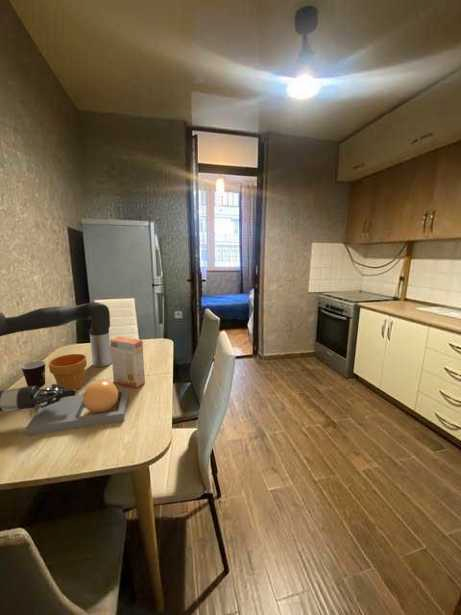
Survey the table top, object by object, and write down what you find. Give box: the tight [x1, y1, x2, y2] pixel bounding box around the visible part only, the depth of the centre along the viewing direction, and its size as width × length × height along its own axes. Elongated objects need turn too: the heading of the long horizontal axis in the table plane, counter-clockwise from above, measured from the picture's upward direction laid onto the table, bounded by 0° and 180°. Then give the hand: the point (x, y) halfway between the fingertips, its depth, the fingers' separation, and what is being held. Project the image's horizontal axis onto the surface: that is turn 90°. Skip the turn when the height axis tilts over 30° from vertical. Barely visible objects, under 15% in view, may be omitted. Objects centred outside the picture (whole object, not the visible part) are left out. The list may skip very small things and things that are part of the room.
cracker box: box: [110, 336, 146, 389], centre depth 123 cm, size 14×6×21 cm, turn 65°
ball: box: [83, 379, 119, 414], centre depth 102 cm, size 12×12×12 cm
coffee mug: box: [21, 360, 46, 389], centre depth 123 cm, size 12×9×10 cm
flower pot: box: [48, 353, 88, 391], centre depth 120 cm, size 14×14×13 cm
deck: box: [25, 388, 129, 436], centre depth 102 cm, size 30×18×3 cm, turn 106°
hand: (75, 391), depth 100 cm, fingers closed
